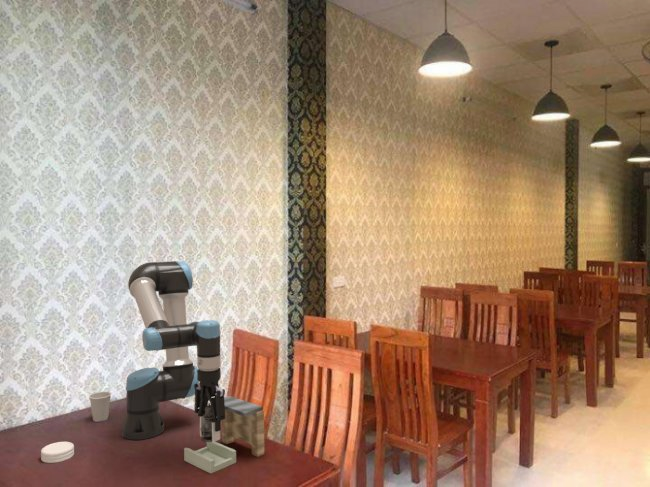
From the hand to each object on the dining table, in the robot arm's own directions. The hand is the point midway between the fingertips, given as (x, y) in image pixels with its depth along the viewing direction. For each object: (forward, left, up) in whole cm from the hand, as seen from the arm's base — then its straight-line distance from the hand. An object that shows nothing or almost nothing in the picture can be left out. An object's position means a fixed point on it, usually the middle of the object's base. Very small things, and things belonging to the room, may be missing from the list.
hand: (209, 437), depth 171 cm
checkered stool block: (0, +12, -8) cm, 14 cm away
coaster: (-43, -31, -8) cm, 54 cm away
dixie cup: (-66, -5, -8) cm, 67 cm away
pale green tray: (0, 0, -8) cm, 8 cm away
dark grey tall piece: (0, 0, -1) cm, 1 cm away
